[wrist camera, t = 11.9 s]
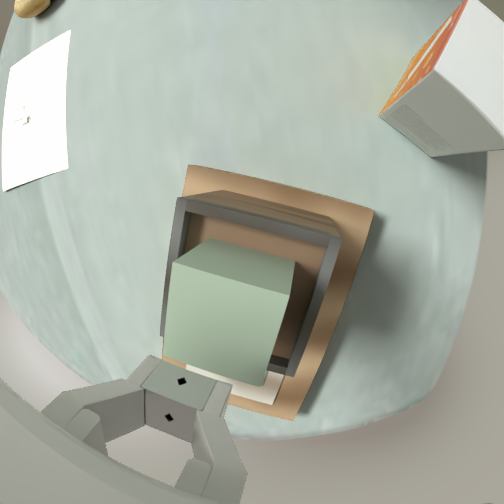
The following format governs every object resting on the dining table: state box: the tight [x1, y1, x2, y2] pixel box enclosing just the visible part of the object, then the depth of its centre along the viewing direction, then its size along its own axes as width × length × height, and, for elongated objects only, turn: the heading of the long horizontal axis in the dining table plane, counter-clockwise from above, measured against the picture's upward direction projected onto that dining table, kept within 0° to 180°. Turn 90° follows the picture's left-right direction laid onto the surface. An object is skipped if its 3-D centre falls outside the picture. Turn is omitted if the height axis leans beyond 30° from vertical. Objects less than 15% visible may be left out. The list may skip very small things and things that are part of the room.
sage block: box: [163, 238, 295, 387], centre depth 15 cm, size 5×5×5 cm
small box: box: [379, 0, 504, 157], centre depth 14 cm, size 8×6×13 cm
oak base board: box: [160, 165, 374, 421], centre depth 23 cm, size 24×16×11 cm, turn 167°
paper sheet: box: [2, 29, 71, 191], centre depth 27 cm, size 24×29×1 cm
